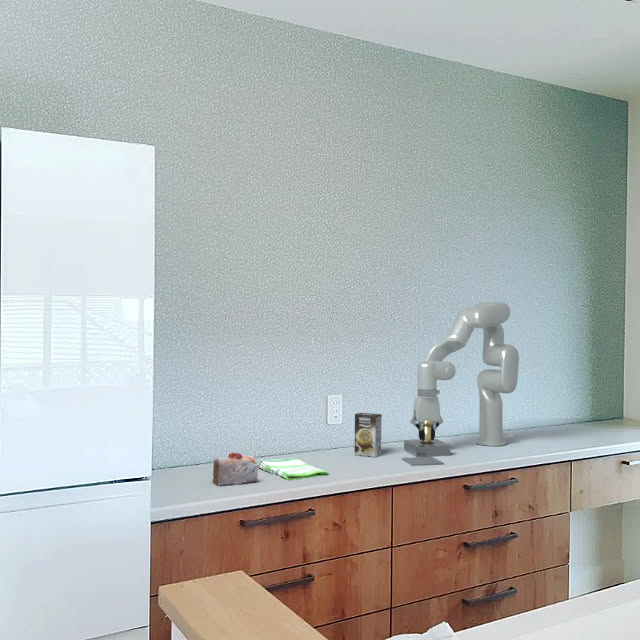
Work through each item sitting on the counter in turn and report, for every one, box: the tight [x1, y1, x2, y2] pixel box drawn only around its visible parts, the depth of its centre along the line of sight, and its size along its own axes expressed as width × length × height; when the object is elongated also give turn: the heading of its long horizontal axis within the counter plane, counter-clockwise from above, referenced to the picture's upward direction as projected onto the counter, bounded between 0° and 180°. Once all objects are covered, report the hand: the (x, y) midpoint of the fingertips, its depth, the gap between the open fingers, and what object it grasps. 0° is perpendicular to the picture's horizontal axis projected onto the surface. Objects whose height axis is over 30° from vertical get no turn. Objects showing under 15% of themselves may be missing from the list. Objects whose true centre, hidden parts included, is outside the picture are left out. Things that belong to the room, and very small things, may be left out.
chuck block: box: [403, 438, 451, 457], centre depth 282 cm, size 14×14×4 cm
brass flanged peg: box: [422, 421, 433, 444], centre depth 282 cm, size 5×5×12 cm
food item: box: [212, 452, 259, 487], centre depth 231 cm, size 14×8×10 cm, turn 117°
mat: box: [401, 456, 445, 466], centre depth 264 cm, size 12×12×1 cm
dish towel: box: [257, 457, 330, 481], centre depth 248 cm, size 17×23×4 cm
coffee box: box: [354, 412, 383, 458], centre depth 277 cm, size 9×6×16 cm
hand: (426, 439), depth 282 cm, fingers closed on brass flanged peg, 3 cm apart
